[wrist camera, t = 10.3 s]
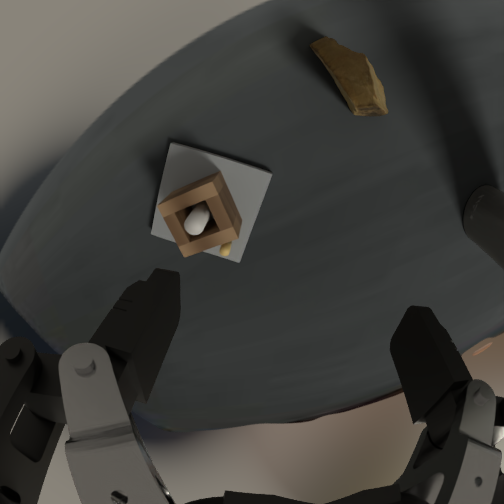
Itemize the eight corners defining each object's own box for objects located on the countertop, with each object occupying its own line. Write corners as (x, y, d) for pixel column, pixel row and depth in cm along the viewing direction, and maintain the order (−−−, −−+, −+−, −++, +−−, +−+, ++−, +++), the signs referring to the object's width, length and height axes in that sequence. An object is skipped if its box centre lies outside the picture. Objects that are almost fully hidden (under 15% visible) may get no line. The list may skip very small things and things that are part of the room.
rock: (282, 32, 21) (299, 119, 24) (346, 2, 14) (372, 107, 17) (347, 50, 26) (361, 121, 29) (404, 35, 19) (422, 117, 22)
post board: (272, 172, 31) (273, 188, 25) (240, 258, 36) (234, 290, 30) (173, 142, 29) (150, 151, 23) (153, 231, 35) (132, 257, 29)
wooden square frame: (220, 170, 30) (212, 181, 25) (242, 220, 33) (238, 238, 28) (171, 191, 31) (156, 205, 27) (194, 237, 34) (184, 257, 30)
